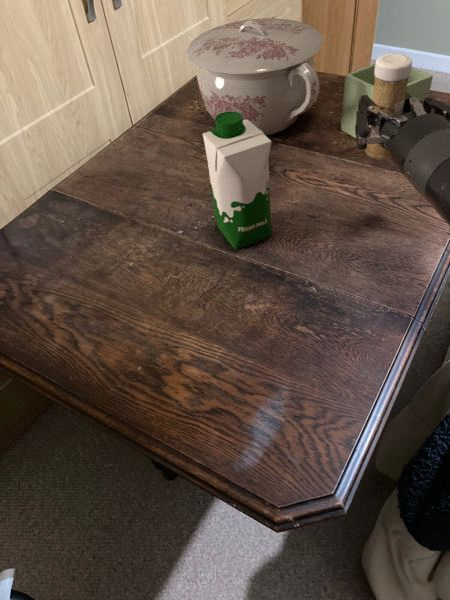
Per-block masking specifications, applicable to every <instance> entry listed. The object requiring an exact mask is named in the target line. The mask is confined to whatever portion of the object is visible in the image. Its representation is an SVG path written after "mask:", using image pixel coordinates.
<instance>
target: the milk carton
mask: <svg viewBox="0 0 450 600" xmlns="http://www.w3.org/2000/svg"><path fill="white" fill-rule="evenodd" d="M214 123H215V128H213V129H209V131H206V132H203V133H202V139H203V142H204V148H205V153H206V160H207V166H208V174H209V182H210V189H211V194H212V195H211V196H212V203H213V209H214V216H215V220H216V225H217V228H218V230H219V231H220V233H222V235H223V236H224V237H225V238H226V240H227V241H228V243H229V244H230V245H231V247H232V248H233V249H234V251H235V250H236V251H237V250H239V249H242V248H245V247H247V246H249V245H252V244H255V243H258V242H260V241H262V240H265V239H267V238H271V237H273V230H272V229H273V228H272V215H271V195H270V193H271V192H270V191H271V190H270V171H269V170H270V166H269V165H270V163H269V158H270V153H271V146H272V140H271V139H270V138H268V136H267V135H266V136H265V135H264V133H263V132H262V131H261V130H259V129H258V128H257V127H256V126H255V125H253V124H252V123H251V122H250V121H249V120H247V119H246V120H243V118H242V115H241V114H240V113H238V112H232V111H230V112H224V113H221V114H219V115H218V116H217V117H216V118H215V120H214Z"/></svg>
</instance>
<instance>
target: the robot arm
mask: <svg viewBox="0 0 450 600" xmlns="http://www.w3.org/2000/svg"><path fill="white" fill-rule="evenodd" d="M432 110H434V113H432V112H433V111H432ZM376 118H377V121H376ZM372 129H373V130H372ZM374 131H375V132H374ZM355 133H356V138H355V141H356V147H357V149H358V150H359V151H360V150H361V151H365V149H366V148H367V144H378V143H379V145H380V146H381V147H382V148H385V149H387V150H388V151H389V153H390V155H391V157H390V158H391V160H392V163H394V165H395V166H396V167H397V168H398V170H399V171H400V173H402V175H403V176H404V177H405V178H406V180H407V181H408V182H409V183H410V184H411V186H412V187H413V189H414V190H415V191H416V192H417V193H418V194H419V195H420V196H421V197H422V198H423V199H425V200H426V201H427V202H428V203H429V204H430V206H431V207H432V208H433V209H434V211H435V212H436V213H437V215H438V216H439V217H440V218H441V219H442V220H443V221H444V222H445V223H446V224H447V225H448V226H449V227H450V105H448V104H446V103H444V102H441V101H439V100H437V99H436V98H433V97H430V96H429V97H427V98H425V99H424V101H419V99H418V98H412V97H411V96H410V95H409V94H408V93H407V92H406V94H405V102H404V108H403V114H402V115H398V114H396V113H394V112H392V111H390V110H389V109H384V110H381V109H380V108H378V107H376V104H375V103H374V102H373V101H372V100H371V99H370V98H369V97H368V95H362V96H361V99H359V104H358V111H357V113H356V125H355Z"/></svg>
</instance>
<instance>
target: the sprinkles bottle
mask: <svg viewBox="0 0 450 600" xmlns="http://www.w3.org/2000/svg"><path fill="white" fill-rule="evenodd" d="M375 63H376V64H375ZM375 63H374V64H375V71H374V74H375V83H374V90H373V99H372V101H373V102H374V103H375V104H376V107H378V108H380V109H381V110H384V109H389V110H390V111H392V112H394V113H396V114H398V115H402V114H403V108H404V102H405V94H406V88H407V82H408V79H409V76H410V73H411V67H413V60H412V58H411V56H409V55H406V54H403V53H398V52H397V53H391V52H390V53H386V54H381V55H380V56H379V57H377V59H376V60H375ZM376 121H377V118H376ZM372 130H373V129H372ZM374 132H375V131H374ZM364 151H365V153H366V155H367V156H368V157H369V158H372V159H376V160H387V159H389V158H391V155H390V153H389V151H388V150H387V149H385V148H382V147H381V146H380V145H379V143H378V144H367V148H366V149H364Z"/></svg>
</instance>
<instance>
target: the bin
mask: <svg viewBox="0 0 450 600" xmlns="http://www.w3.org/2000/svg"><path fill="white" fill-rule="evenodd" d="M375 64H376V62H375V63H373V64H370V65H367V66H365V67H362V68H360V69H357V70H354V71H351V72H349V73H346V74H345V75H344V86H343V97H342V98H343V99H342V109H341V122H340V130H341V131H343V132H344V133H346V134H348V135H350V136H351V137H353V138H355V139H356V133H355V125H356V113H357V111H358V104H359V99H361V96H362V95H368V97H369V98H370V99H371V100H372V99H373V90H374V83H375V74H374V71H375ZM433 78H434V75H432V74H430V73H427V72H425V71H423V70H420V69H418V68H416V67H413V66H412V67H411V73H410V76H409V79H408V82H407V88H406V92H407V93H408V94H409V95H410V96H411V97H412V98H418V99H419V101H424V99H425V98H427V97H430V91H431V86H432V82H433Z"/></svg>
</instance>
